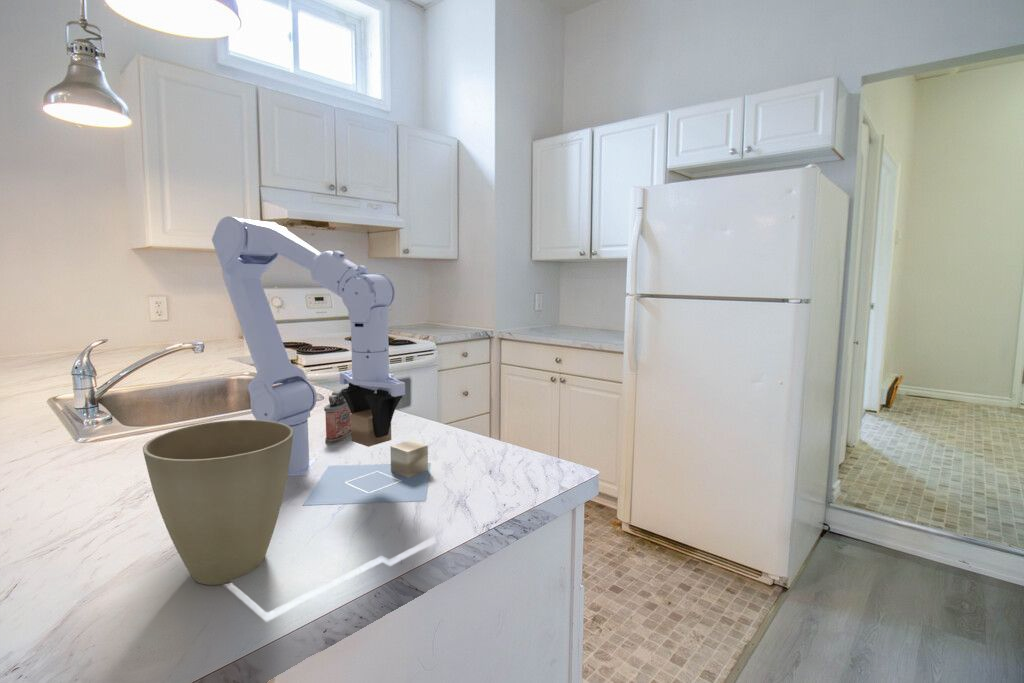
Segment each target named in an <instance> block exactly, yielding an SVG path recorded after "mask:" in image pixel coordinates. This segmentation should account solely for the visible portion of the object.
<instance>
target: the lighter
mask: <svg viewBox="0 0 1024 683" xmlns="http://www.w3.org/2000/svg"><path fill="white" fill-rule="evenodd" d="M328 402H329V404H327V405H325V406H324V407H323V410H324V413H325V438H324V439H325V441H324V442H325V444H327V445H333V444H338V443H341V442H343V441H345V440H346V439H348V438H351V411H350V409H349V406H348V404H347V402H346V400H345V399H344V397H343V396H342V394H341V390H339V391H333V392H331V395H328Z"/></svg>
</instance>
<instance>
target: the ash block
mask: <svg viewBox="0 0 1024 683" xmlns="http://www.w3.org/2000/svg"><path fill="white" fill-rule="evenodd" d="M428 448H429V445H427V444H425V443H422V442H418V441H414V440H411V439H410V440H407V441H403V442H400V443H396V444H393V445H391V446H390V448H389V449H390V464H391V471H392V472H394V473H397V474H399V475H402V476H405V477H407V478H409V477H411V476H414V475H417V474H419V473H422V472H425V471H427V470H428V463H429V450H428Z"/></svg>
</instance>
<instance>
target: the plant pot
mask: <svg viewBox="0 0 1024 683" xmlns="http://www.w3.org/2000/svg"><path fill="white" fill-rule="evenodd" d="M292 440H293V429H292V428H291V427H290V426H288V425H286V424H283V423H279V422H274V421H265V420H256V419H231V420H221V421H220V420H219V421H212V422H205V423H199V424H195V425H190V426H185V427H180V428H177V429H174V430H171V431H168V432H166V433H165V432H164V433H163V434H159V435H158V436H156V437H153V438H151V439H150V440H148V441H147V442H146V443H145V444H144V445H143V447H142V452H143V456H144V460H145V465H146V469H147V473H148V477H149V481H150V484H151V487H152V491H153V494H154V498H155V502H156V504H157V507H158V509H159V512H160V515H161V518H162V521H163V523H164V524H165V528H166V530H167V533H168V535H169V537H170V539H171V541H172V543H173V546H174V548H175V549H176V551H177V554H178V555H179V557H180V559H181V560H182V562H183V564H184V566H185V567H186V570H187V572H188V573H189V575H190V576H191V577H192V580H194V581H195V582H196V583H198V584H201V585H207V586H216V585H217V586H219V585H224V584H229V583H232V581H231V580H232V579H236V578H238V577H239V578H240V577H241V576H244V575H246V574H248V573H250V572H252V571H254V570H255V569H256V568H258V567H259V566H260V565H262V563H263V562H264V559H265V557H266V554H267V551H268V549H269V546H270V543H271V540H272V538H273V534H274V531H275V528H276V524H277V521H278V518H279V513H280V509H281V506H282V503H283V499H284V494H285V489H286V485H287V481H288V480H287V479H288V476H287V475H288V469H289V463H290V456H291V448H292Z"/></svg>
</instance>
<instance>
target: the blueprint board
mask: <svg viewBox="0 0 1024 683" xmlns="http://www.w3.org/2000/svg"><path fill="white" fill-rule="evenodd" d="M431 465H432V464H431V462H428V470H427V471H425V472H422V473H419V474H417V475H414V476H411V477H409V478H407V477H405V476H402V475H399V474H397V473H394V472H392V471H391V463H382V464H378V463H377V464H350V465H349V464H348V465H347V464H345V465H343V464H342V465H341V464H340V465H328V466H327V467H326V469H325V470H324V472H323V473H322V475H321V476H320V478H319V479H318V481H317V482H316V484H315V485H314V487H313V489H312V490H311V492H310V493H309V495H308V496H307V498H306V499H305V501H304V502H303V503H302V507H303V506H325V505H326V506H330V505H331V506H332V505H355V504H356V505H357V504H358V505H359V504H381V503H382V504H384V503H388V504H389V503H408V502H409V503H412V502H413V503H415V502H427V494H428V487H429V480H430V479H429V478H430V474H431V472H430V471H431Z"/></svg>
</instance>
